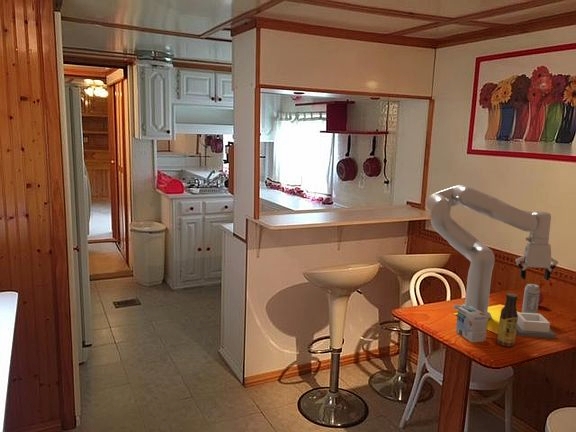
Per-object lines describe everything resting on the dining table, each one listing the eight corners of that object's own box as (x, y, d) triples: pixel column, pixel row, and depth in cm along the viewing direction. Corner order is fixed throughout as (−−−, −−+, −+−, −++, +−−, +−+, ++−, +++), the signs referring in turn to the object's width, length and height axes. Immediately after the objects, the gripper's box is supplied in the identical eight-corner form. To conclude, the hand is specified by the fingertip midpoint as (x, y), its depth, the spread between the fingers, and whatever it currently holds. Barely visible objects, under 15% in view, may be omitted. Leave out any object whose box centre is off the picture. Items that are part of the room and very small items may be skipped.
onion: (526, 303, 240) (528, 287, 238) (539, 303, 240) (541, 287, 238) (532, 307, 234) (534, 291, 233) (544, 308, 234) (546, 291, 232)
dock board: (519, 335, 202) (520, 322, 201) (507, 322, 215) (509, 310, 214) (555, 338, 200) (557, 325, 199) (542, 324, 214) (543, 312, 213)
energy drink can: (534, 316, 223) (538, 283, 221) (538, 321, 218) (542, 288, 215) (519, 314, 225) (523, 282, 222) (523, 319, 219) (527, 286, 216)
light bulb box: (455, 331, 204) (457, 306, 202) (469, 330, 206) (471, 305, 204) (471, 343, 194) (474, 316, 192) (486, 341, 196) (489, 315, 194)
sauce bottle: (505, 348, 190) (511, 298, 186) (492, 342, 195) (498, 293, 192) (518, 346, 192) (524, 296, 189) (505, 339, 198) (511, 291, 194)
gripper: (520, 242, 212) (516, 280, 215) (563, 243, 210) (559, 282, 213) (514, 238, 219) (511, 275, 222) (556, 239, 217) (552, 277, 221)
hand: (534, 279), depth 218 cm, fingers open, 9 cm apart
